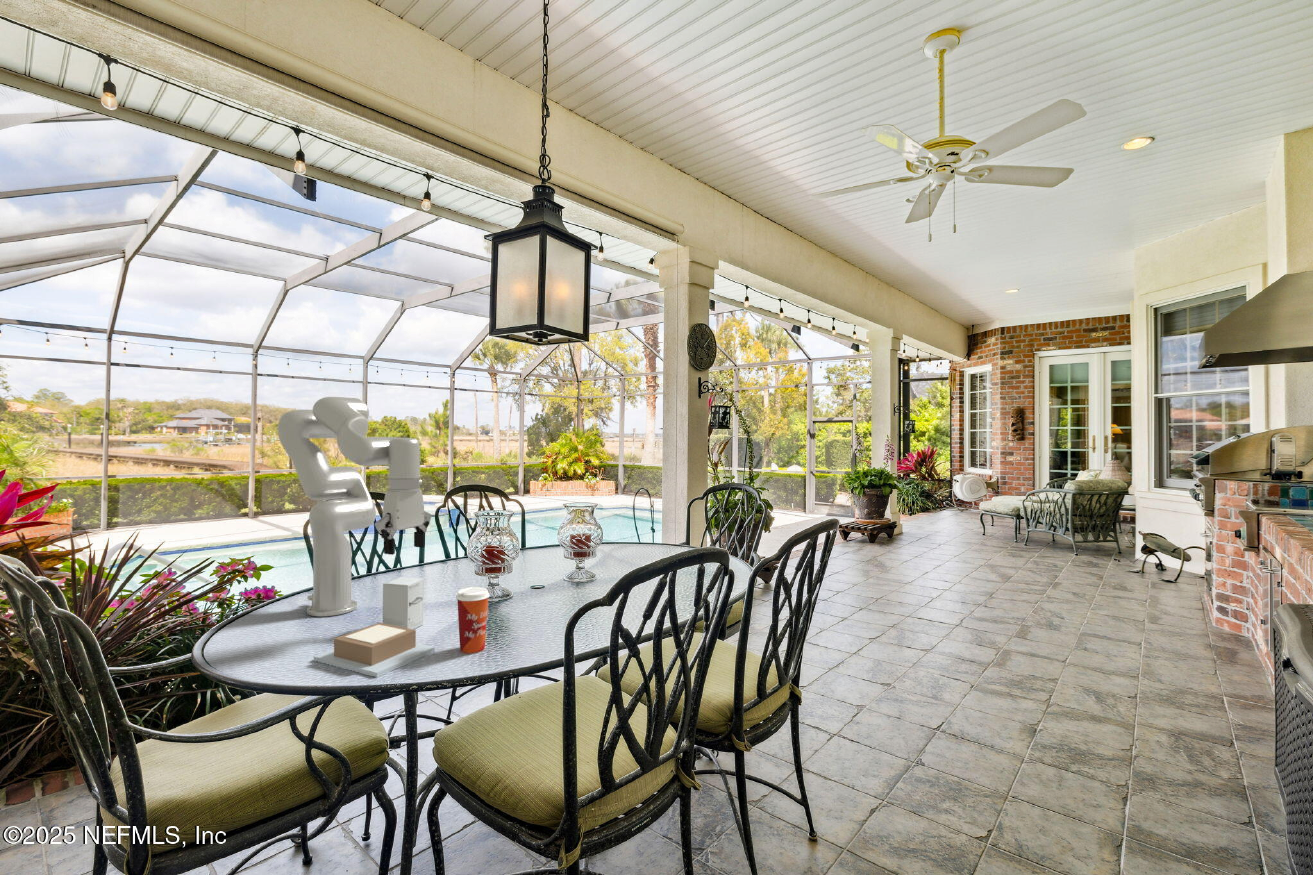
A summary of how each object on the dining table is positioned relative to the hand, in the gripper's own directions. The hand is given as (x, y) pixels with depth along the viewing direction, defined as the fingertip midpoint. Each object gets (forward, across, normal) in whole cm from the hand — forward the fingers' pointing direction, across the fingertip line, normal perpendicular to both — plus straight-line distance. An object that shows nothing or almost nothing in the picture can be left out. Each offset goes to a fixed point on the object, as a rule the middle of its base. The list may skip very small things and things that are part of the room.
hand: (404, 550), depth 151 cm
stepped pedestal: (+21, +16, +8) cm, 27 cm away
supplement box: (+21, 0, -1) cm, 21 cm away
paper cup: (+21, +3, +25) cm, 33 cm away
